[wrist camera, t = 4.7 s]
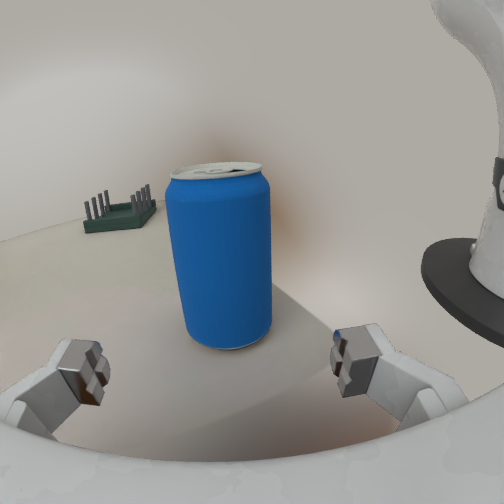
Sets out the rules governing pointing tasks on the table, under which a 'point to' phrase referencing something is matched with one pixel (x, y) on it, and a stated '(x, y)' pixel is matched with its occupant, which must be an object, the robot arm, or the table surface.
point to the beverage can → (222, 251)
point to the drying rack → (120, 213)
